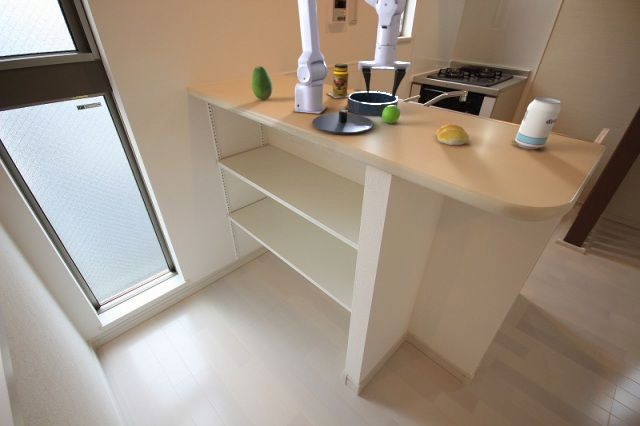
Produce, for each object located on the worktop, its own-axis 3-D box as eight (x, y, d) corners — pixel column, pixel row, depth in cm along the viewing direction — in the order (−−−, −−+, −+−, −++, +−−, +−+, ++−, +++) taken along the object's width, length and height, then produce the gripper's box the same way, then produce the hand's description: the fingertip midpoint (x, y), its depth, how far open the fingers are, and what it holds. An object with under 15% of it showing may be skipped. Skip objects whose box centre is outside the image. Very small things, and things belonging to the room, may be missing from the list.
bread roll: (438, 145, 81) (442, 130, 79) (434, 134, 88) (437, 120, 86) (471, 147, 80) (475, 133, 77) (463, 136, 87) (467, 122, 85)
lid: (301, 128, 91) (300, 113, 88) (329, 113, 104) (330, 100, 102) (358, 140, 83) (359, 124, 81) (381, 122, 97) (382, 108, 94)
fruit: (252, 97, 121) (248, 65, 114) (271, 96, 123) (269, 64, 116) (254, 102, 115) (250, 68, 108) (274, 101, 116) (272, 67, 110)
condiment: (335, 98, 122) (337, 66, 115) (327, 93, 128) (328, 62, 121) (351, 97, 124) (353, 65, 117) (342, 92, 131) (344, 62, 124)
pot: (342, 113, 105) (342, 101, 102) (352, 100, 119) (353, 90, 117) (394, 118, 101) (396, 105, 98) (398, 104, 115) (399, 93, 113)
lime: (380, 124, 95) (382, 107, 91) (382, 119, 99) (384, 102, 96) (397, 126, 93) (400, 108, 90) (398, 121, 98) (401, 104, 95)
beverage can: (535, 152, 77) (557, 105, 70) (508, 144, 82) (526, 99, 75) (547, 147, 81) (568, 101, 74) (520, 139, 85) (538, 95, 78)
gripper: (410, 43, 86) (402, 93, 93) (359, 43, 87) (356, 92, 94) (414, 46, 80) (406, 99, 88) (360, 45, 81) (356, 97, 88)
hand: (380, 96), depth 91 cm, fingers open, 7 cm apart
